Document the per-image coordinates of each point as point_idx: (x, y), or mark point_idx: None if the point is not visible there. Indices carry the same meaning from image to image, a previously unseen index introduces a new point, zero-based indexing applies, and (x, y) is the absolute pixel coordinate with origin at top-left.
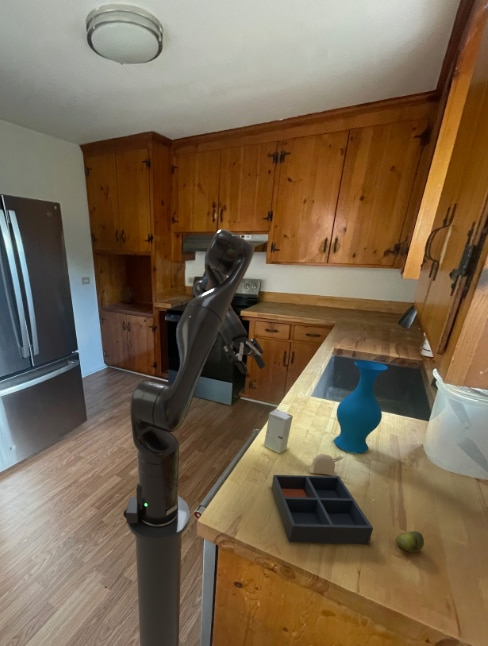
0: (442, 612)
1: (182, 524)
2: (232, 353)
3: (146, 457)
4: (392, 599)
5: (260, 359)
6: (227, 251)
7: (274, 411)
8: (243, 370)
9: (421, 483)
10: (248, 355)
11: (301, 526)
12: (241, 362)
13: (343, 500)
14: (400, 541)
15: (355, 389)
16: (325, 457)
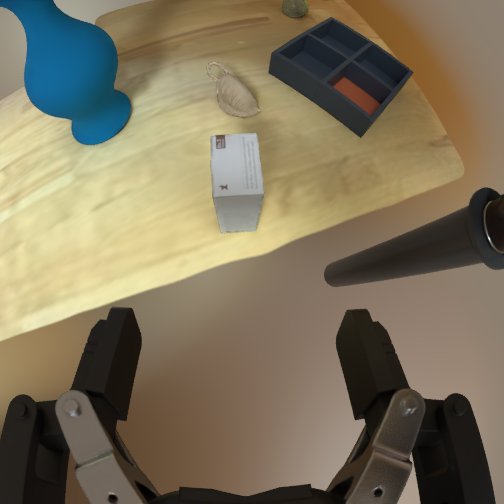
0: (334, 2)
1: (484, 191)
2: (475, 455)
3: None
4: (360, 21)
5: (112, 362)
6: None
7: (239, 187)
8: (380, 326)
9: (146, 30)
10: (153, 486)
11: (404, 65)
12: (392, 382)
13: (320, 39)
14: (307, 9)
15: (46, 35)
16: (237, 79)
